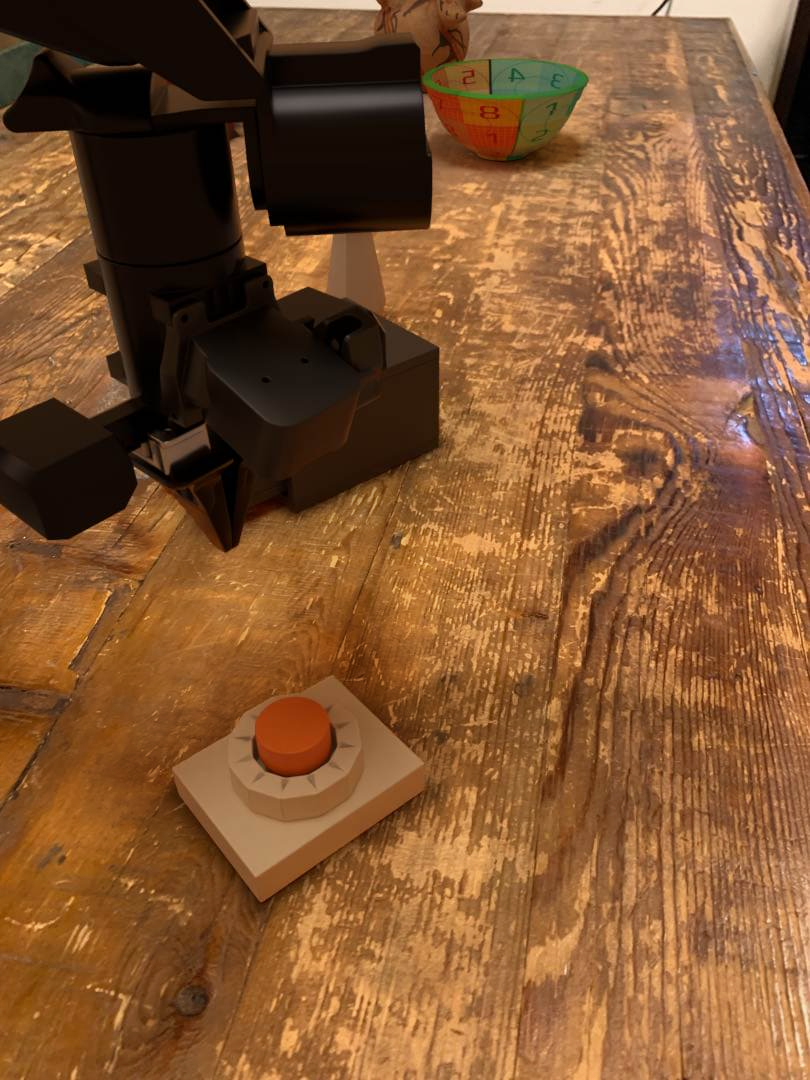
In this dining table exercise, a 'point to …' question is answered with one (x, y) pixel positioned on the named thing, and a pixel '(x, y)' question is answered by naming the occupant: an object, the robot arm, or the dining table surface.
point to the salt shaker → (356, 271)
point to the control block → (298, 791)
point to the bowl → (504, 103)
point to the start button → (293, 736)
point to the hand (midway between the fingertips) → (226, 546)
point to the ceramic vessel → (430, 28)
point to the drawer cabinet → (379, 423)
